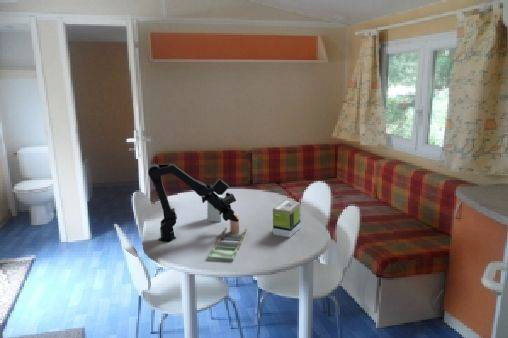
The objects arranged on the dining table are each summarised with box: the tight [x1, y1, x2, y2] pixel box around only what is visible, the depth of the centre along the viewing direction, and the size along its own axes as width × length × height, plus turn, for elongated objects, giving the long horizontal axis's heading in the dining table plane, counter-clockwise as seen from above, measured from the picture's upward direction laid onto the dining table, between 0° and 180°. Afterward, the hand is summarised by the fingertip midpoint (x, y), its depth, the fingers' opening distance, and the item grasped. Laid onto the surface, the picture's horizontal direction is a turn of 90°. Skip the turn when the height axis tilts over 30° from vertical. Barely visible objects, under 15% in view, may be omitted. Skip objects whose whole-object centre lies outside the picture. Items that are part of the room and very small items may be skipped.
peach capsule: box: [229, 212, 240, 234], centre depth 202 cm, size 5×5×10 cm
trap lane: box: [207, 227, 248, 263], centre depth 189 cm, size 36×12×1 cm, turn 171°
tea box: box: [272, 199, 302, 238], centre depth 202 cm, size 15×10×15 cm, turn 152°
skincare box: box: [206, 193, 224, 223], centre depth 219 cm, size 8×6×15 cm
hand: (237, 219), depth 202 cm, fingers closed on peach capsule, 5 cm apart
